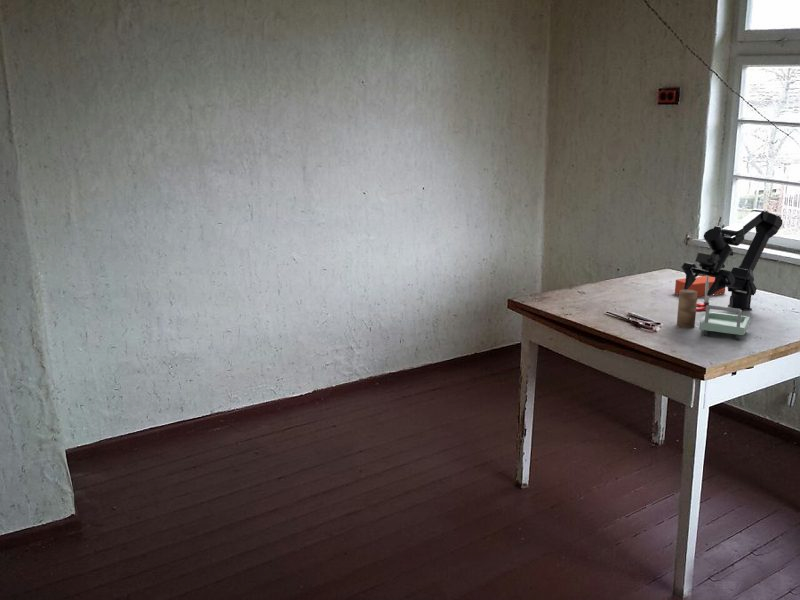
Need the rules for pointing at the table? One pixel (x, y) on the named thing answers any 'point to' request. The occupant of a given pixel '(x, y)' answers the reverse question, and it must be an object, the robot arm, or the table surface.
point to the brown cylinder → (687, 308)
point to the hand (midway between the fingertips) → (696, 292)
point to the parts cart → (724, 321)
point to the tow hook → (706, 298)
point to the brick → (697, 285)
